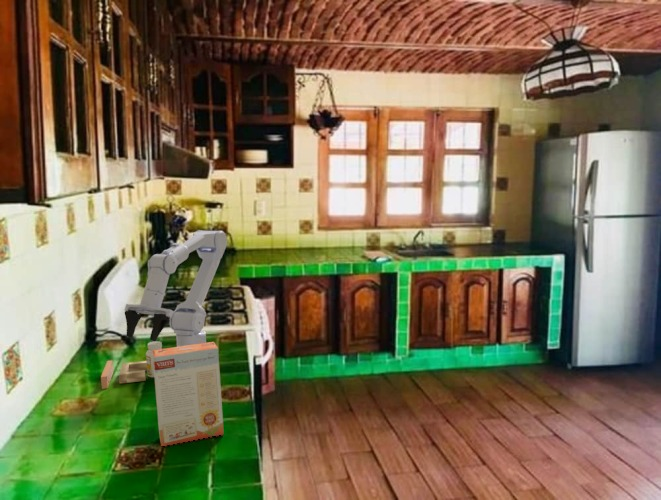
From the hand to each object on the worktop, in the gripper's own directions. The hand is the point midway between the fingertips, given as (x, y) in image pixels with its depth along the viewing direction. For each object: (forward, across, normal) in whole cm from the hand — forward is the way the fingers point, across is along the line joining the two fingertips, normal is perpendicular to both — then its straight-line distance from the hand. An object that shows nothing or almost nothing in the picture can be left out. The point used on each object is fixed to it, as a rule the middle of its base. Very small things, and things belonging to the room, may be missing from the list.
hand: (140, 338), depth 162 cm
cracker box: (+23, +31, -17) cm, 42 cm away
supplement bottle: (+8, +1, +13) cm, 15 cm away
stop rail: (+12, -11, +7) cm, 18 cm away
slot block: (+10, -5, +10) cm, 15 cm away
